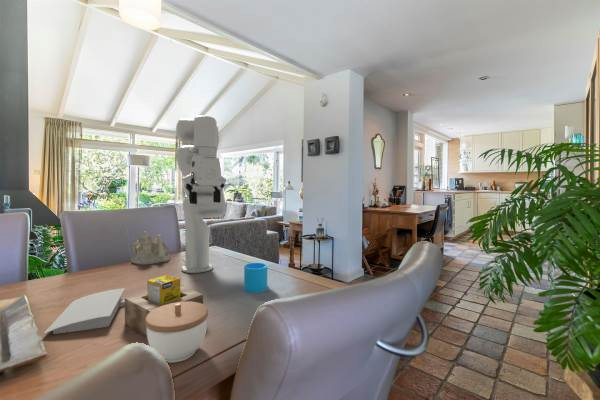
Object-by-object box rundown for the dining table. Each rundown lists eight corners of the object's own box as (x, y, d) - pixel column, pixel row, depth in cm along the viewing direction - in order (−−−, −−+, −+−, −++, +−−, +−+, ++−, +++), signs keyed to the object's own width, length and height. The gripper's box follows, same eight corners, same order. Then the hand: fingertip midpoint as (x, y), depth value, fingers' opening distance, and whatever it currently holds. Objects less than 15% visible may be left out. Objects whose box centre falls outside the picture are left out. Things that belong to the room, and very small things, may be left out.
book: (131, 297, 96) (131, 286, 96) (117, 331, 75) (116, 316, 74) (75, 304, 90) (74, 292, 90) (41, 343, 69) (40, 326, 69)
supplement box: (181, 316, 81) (181, 277, 80) (161, 326, 75) (161, 284, 75) (167, 311, 84) (166, 274, 83) (147, 320, 78) (146, 280, 78)
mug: (270, 290, 103) (270, 267, 102) (246, 294, 100) (247, 270, 99) (261, 280, 114) (261, 259, 113) (239, 282, 111) (239, 261, 110)
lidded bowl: (174, 334, 73) (173, 290, 72) (219, 343, 69) (219, 297, 68) (131, 364, 61) (130, 312, 60) (183, 376, 57) (182, 321, 56)
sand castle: (172, 260, 138) (170, 229, 138) (132, 267, 130) (130, 233, 129) (167, 255, 152) (165, 226, 151) (130, 261, 143) (128, 230, 142)
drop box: (125, 323, 77) (124, 297, 77) (174, 306, 89) (174, 283, 88) (152, 341, 69) (152, 312, 69) (203, 319, 81) (203, 294, 80)
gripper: (189, 150, 92) (189, 205, 93) (232, 155, 106) (232, 202, 107) (175, 151, 96) (176, 203, 97) (218, 155, 110) (218, 201, 111)
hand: (205, 203), depth 102 cm, fingers open, 9 cm apart
